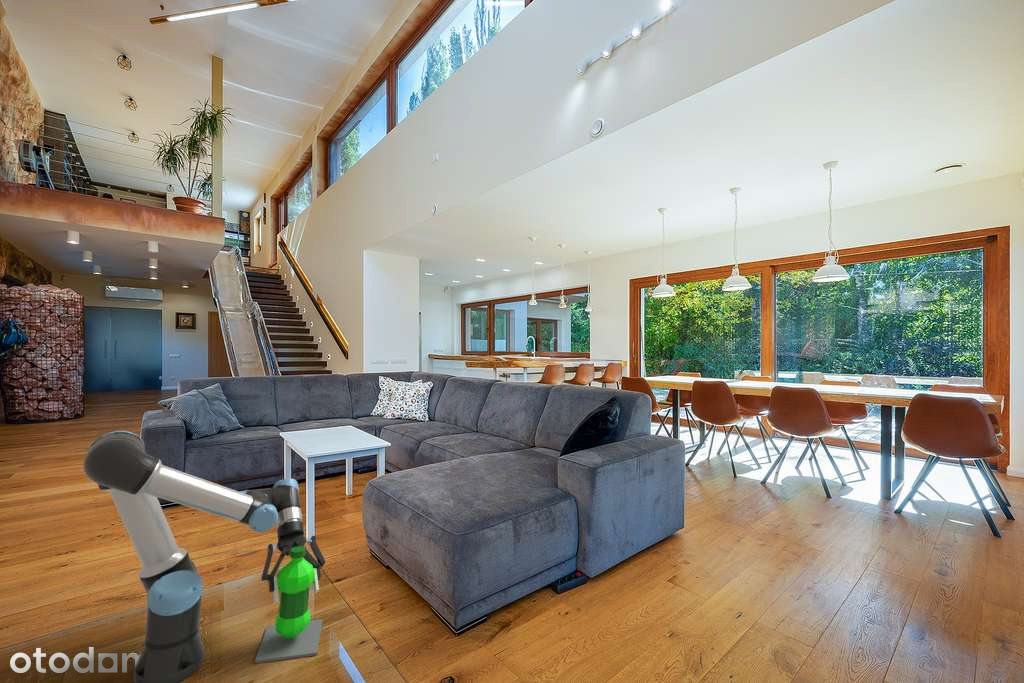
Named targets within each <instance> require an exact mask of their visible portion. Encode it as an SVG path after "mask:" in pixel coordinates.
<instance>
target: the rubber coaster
mask: <svg viewBox="0 0 1024 683" xmlns="http://www.w3.org/2000/svg"><path fill="white" fill-rule="evenodd" d="M323 621H324V620H323V618H322V619H313V620H310V622H309V624H308V625H307V627H306V628H305V629H304V630H303V631H302V632H301V633H300V634H299V635H298V636H295V637H293V638H285V637H283V636H282V635H280V634H278V633H277V632H276V629H275V624H271V625H267V627H266V629H265V631H264V635H263V638H262V640H261V643H260V645H259V649H258V651H257V653H256V656H255V658H254V659H255V660H254V664H262V663H269V662H276V661H283V660H284V661H285V660H291V659H292V660H293V659H298V658H305V657H306V658H307V657H312V656H313V657H314V656H318V650H319V645H320V639H321V632H322V627H323V623H324V622H323ZM322 622H323V623H322Z"/></svg>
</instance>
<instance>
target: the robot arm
mask: <svg viewBox="0 0 1024 683" xmlns="http://www.w3.org/2000/svg"><path fill="white" fill-rule="evenodd" d="M145 445H146V444H145V442H144V440H143V439H142V438H141V437H140V436H139V435H137V434H136V433H134V432H131V431H127V430H115V431H111V432H107V433H105V434H103V435H101V436H100V437H98V438H96V439H95V440H94V441H93V442H92V443H91V444H90V446H89V448H88V449H87V453H86V455H85V457H84V460H83V471H84V473H85V475H86V477H87V478H88V479H89V480H90V481H92V482H94V483H96V484H97V486H98V488H99V491H102V492H105V493H109V494H110V495H111V499H112V500H113V503H114V505H115V507H116V510H117V512H118V514H119V516H120V518H121V520H122V523H123V525H124V528H125V531H126V532H127V535H128V537H129V538H130V542H131V543H132V546H133V548H134V549H135V552H136V554H137V557H138V560H139V562H140V563H141V565H142V566H141V568H140V570H139V571H138V577H139V579H140V581H141V583H142V586H143V589H144V591H145V594H146V597H147V598H146V599H147V600H146V606H147V607H146V610H147V611H146V623H145V624H146V625H145V636H144V638H145V639H144V646H143V649H142V651H141V653H140V656H139V657H138V660H137V662H136V664H135V666H134V670H133V677H132V679H133V680H132V681H133V683H180V682H182V681H184V680H185V679H187V678H189V677H190V676H191V675H194V673H196V672H197V671H198V670H199V668H200V667H201V666H202V665H203V662H204V661H205V659H204V658H205V647H204V644H203V640H202V638H201V635H200V630H199V629H200V620H201V619H200V618H201V609H202V608H201V606H202V595H203V590H204V584H203V578H202V576H201V575H200V574H199V573H198V572H197V570H198V569H197V567H196V564H195V563H194V561H192V559H191V558H190V555H189V553H188V551H187V549H186V548H183V547H179V546H178V544H177V541H176V539H175V537H174V533H173V532H172V530H171V526H170V525H169V522H168V520H167V518H166V515H165V513H164V511H163V508H162V506H161V504H160V501H159V499H163V500H166V501H167V502H168V501H169V502H172V503H174V504H179V505H181V506H185V507H188V508H191V509H194V510H198V511H201V512H205V513H207V514H210V515H214V516H216V517H220V518H223V519H227V520H231V521H234V522H237V523H240V524H242V525H247V526H249V528H250V529H252V530H253V531H255V532H256V533H265V532H268V531H269V530H271V529H273V528H274V526H275V525H276V528H277V530H276V531H277V534H276V535H277V543H274V544H272V543H269V544H268V545H267V548H266V553H267V554H266V560H265V563H264V566H263V567H264V568H263V570H262V574H261V582H262V581H263V582H264V581H267V582H268V592H269V593H272V594H273V596H272V597H273V605H277V604H278V603H279V602H280V597H279V589H278V584H277V576H276V574H277V572H278V570H279V568H280V566H281V563H282V562H283V560H284V558H285V556H286V557H290V549H292V548H293V547H297V546H303V547H305V548H306V546H305V544H306V543H307V544H308V546H309V547H310V549H311V551H312V553H313V554H311V553H310V552H309V550H308V549H307V548H306V553H305V556H303V559H304V560H306V561H307V562H309V563H310V564H312V566H313V569H314V572H315V578H314V581H313V583H312V585H313V592H314V593H313V594H317V593H318V592H319V591H320V586H319V581H320V579H321V577H322V575H321V568H323V567H324V566H325V564H326V560H325V557H324V556H323V553H322V551H321V550H320V547H319V545H318V544H317V540H316V535H311V536H310V537H306V536H305V530H304V522H303V514H302V507H301V496H300V493H301V492H300V488H299V483H298V480H296V479H295V478H290V477H289V478H284V479H280V480H278V481H276V482H275V483H274V484H273V487H268V488H258V489H245V490H240V491H238V490H235V489H232V488H229V487H227V486H224V485H221V484H218V483H215V482H212V481H209V480H207V479H204V478H202V477H198V476H195V475H192V474H190V473H187V472H184V471H181V470H179V469H178V470H177V469H176V468H172V467H169V466H166V465H164V464H162V460H161V459H160V458H157V457H154V456H152V455H150V454H147V451H146V450H145V449H146V447H145ZM158 498H159V499H158ZM276 549H277V550H278V551H279V552H281V553H280V555H279V557H278V558H277V560H276V563H275V564H274V567H273V568H272V571H271V572H270V574H269V571H270V570H269V569H270V565H271V562H272V557H273V555H274V553H275V552H276ZM275 576H276V577H275Z"/></svg>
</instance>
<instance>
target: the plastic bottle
mask: <svg viewBox="0 0 1024 683" xmlns="http://www.w3.org/2000/svg"><path fill="white" fill-rule="evenodd" d="M305 547H306V546H305ZM305 547H303V546H297V547H293V548H292V549H290V556H289V558H291V561H289V562H288V563H286V564H285V565H284V566H283V567H282V568H280V570H279V571H278V573H277V575H276V577H277V584H278V591H280V597H279V608H278V609H279V610H278V613H277V614H276V617H275V618H274V625H275V629H276V632H277V633H278V634H280V635H282V636H283V637H285V638H293V637H295V636H298V635H299V634H300V633H301V632H302V631H303V630H304V629H305V628H306V627H307V625H308V624H309V622H310V621H311V613H310V612H311V611H310V609H309V595H310V586H311V585H313V581H314V578H315V572H314V569H313V566H312V564H310V563H309V562H307V561H306V560H305V559H304V558H303V556H305V553H306V549H307V548H305Z"/></svg>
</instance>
